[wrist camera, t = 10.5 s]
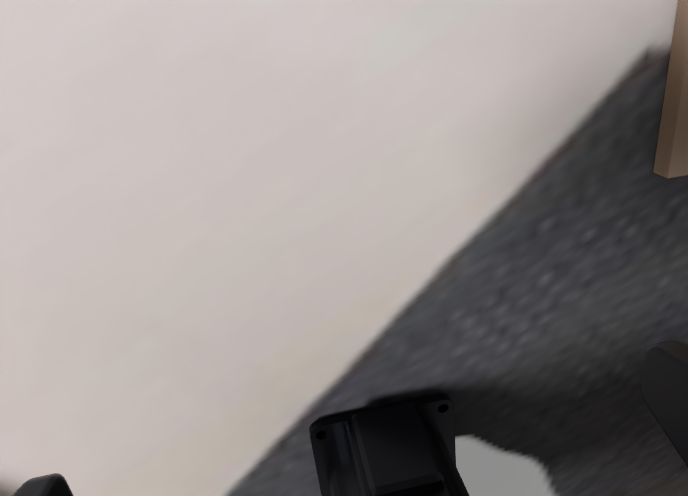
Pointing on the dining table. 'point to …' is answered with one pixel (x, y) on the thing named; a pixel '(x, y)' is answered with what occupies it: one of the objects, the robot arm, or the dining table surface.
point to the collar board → (675, 104)
